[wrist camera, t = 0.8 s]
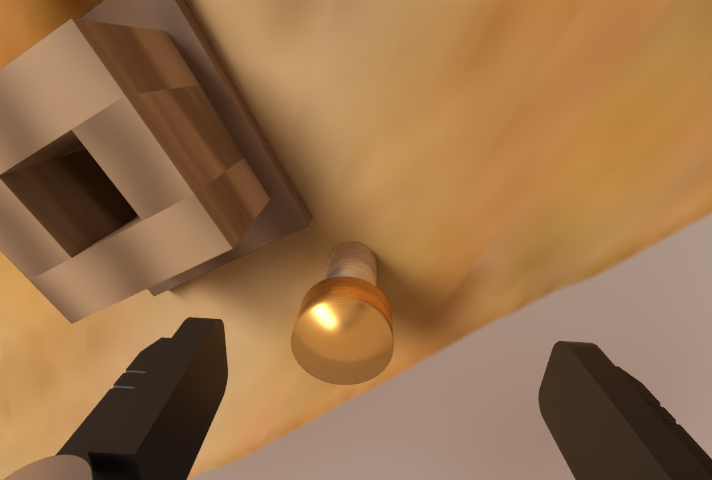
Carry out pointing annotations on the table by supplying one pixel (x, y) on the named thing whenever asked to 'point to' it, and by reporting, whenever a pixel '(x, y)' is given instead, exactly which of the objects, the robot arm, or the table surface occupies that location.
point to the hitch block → (131, 160)
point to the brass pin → (345, 321)
